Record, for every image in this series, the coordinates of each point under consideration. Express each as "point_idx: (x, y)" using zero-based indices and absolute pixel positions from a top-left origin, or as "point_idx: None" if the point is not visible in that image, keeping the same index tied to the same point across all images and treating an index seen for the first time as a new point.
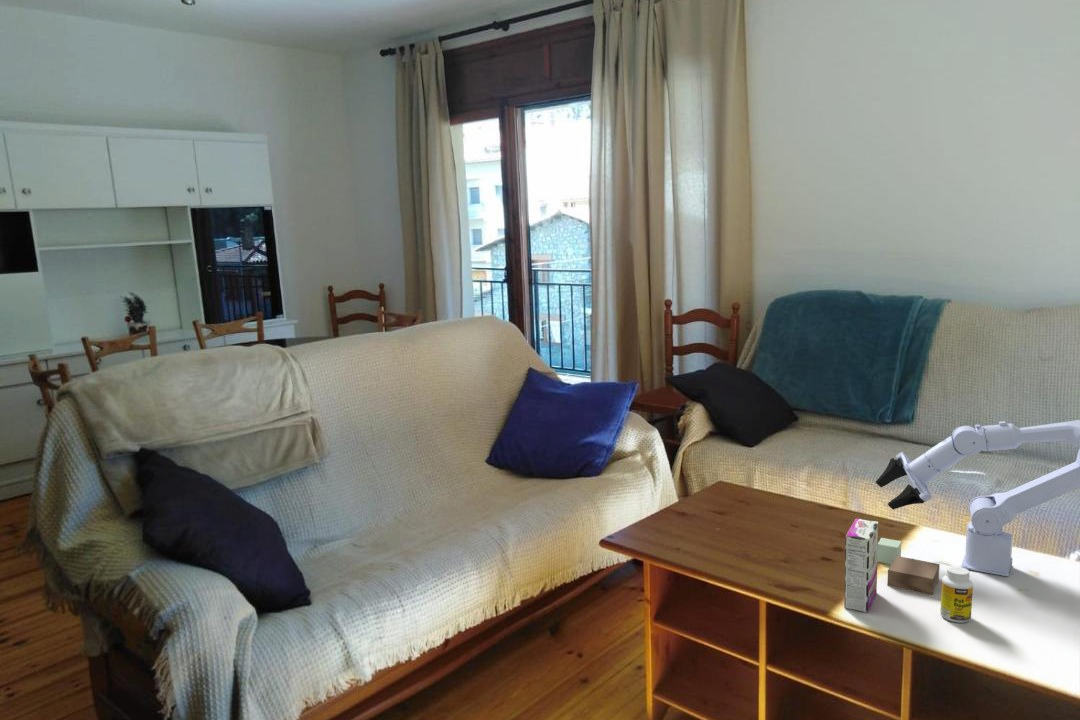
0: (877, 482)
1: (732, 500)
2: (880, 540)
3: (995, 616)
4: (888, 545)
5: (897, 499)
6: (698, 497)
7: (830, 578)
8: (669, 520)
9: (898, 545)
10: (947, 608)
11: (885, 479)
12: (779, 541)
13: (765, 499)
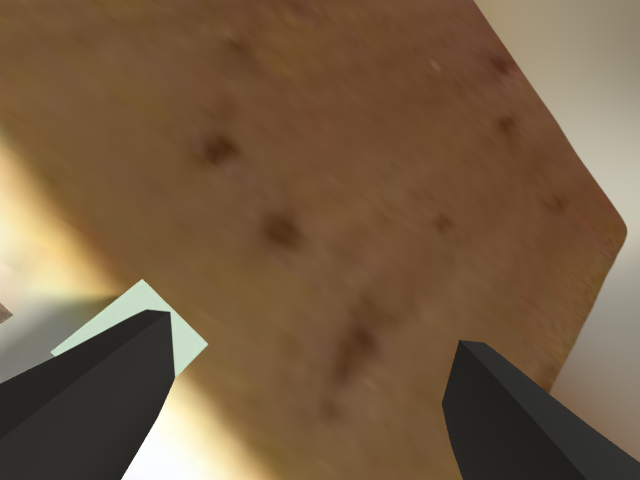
0: (464, 346)
1: (560, 190)
2: (177, 319)
3: None
4: (101, 320)
5: (37, 366)
6: (566, 142)
7: (64, 55)
8: (473, 26)
9: None
10: None
11: (495, 445)
12: (359, 125)
13: (572, 258)
